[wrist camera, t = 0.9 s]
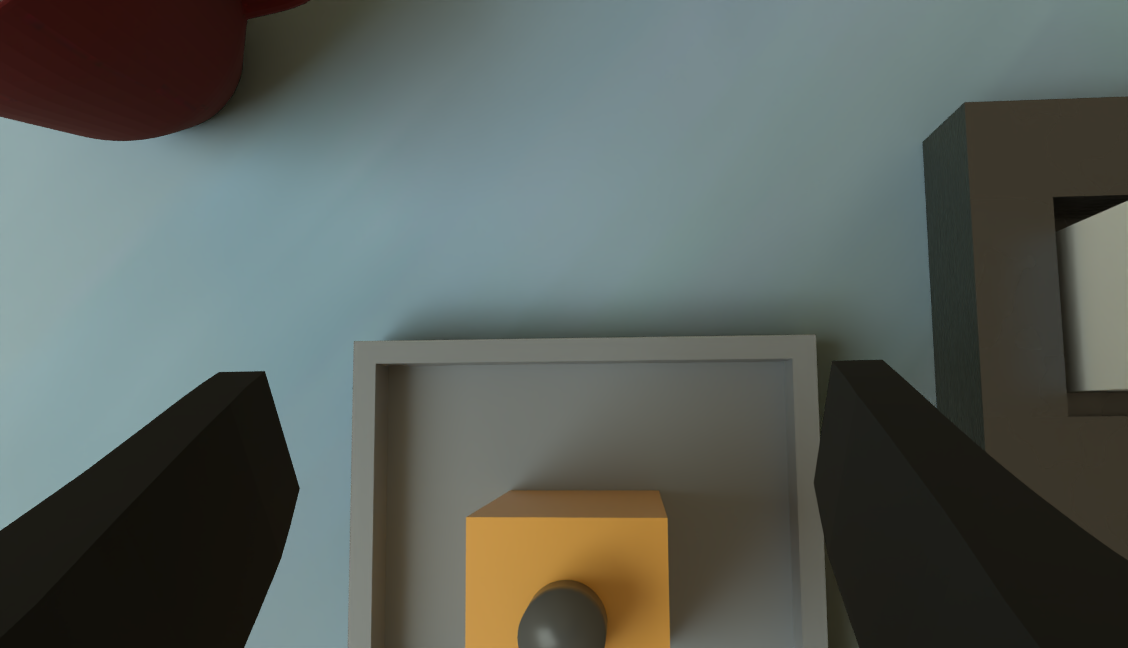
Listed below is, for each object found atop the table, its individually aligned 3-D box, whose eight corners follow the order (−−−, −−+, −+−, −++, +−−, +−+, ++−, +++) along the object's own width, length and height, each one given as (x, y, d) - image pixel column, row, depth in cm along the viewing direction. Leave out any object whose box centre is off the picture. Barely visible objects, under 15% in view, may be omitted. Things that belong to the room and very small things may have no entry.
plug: (661, 646, 22) (674, 757, 15) (509, 643, 22) (451, 750, 15) (658, 490, 22) (670, 525, 15) (510, 490, 23) (453, 525, 16)
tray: (818, 801, 22) (835, 835, 20) (367, 788, 23) (344, 819, 21) (801, 340, 23) (815, 334, 21) (374, 346, 24) (353, 341, 22)
